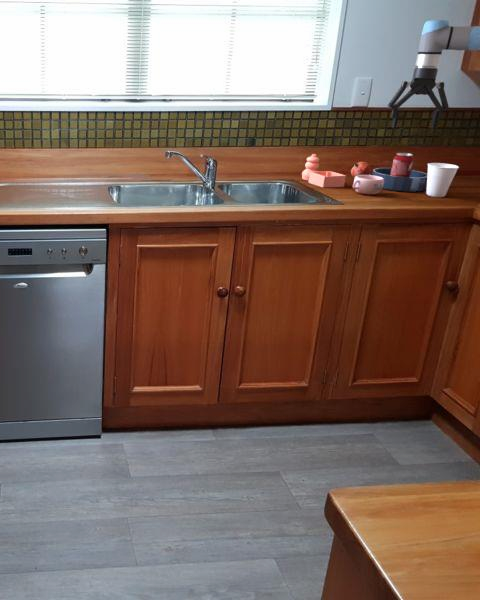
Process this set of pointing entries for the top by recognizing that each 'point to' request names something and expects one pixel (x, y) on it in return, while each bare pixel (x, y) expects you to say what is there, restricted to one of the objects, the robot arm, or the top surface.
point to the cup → (439, 178)
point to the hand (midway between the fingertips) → (413, 128)
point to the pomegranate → (360, 169)
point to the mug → (368, 184)
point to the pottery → (321, 175)
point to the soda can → (402, 165)
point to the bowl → (402, 180)
